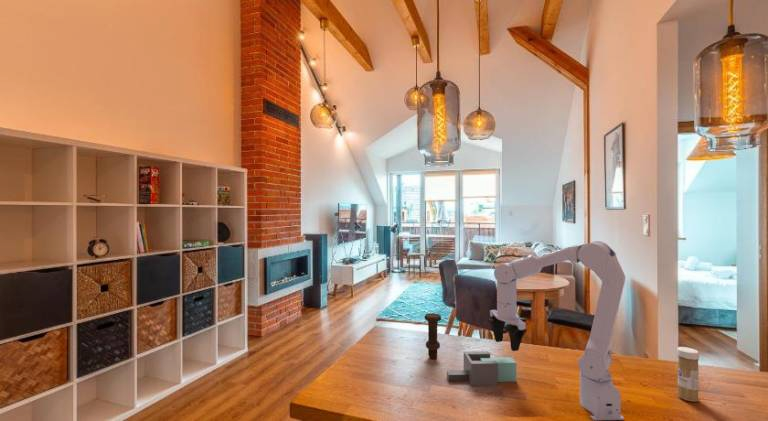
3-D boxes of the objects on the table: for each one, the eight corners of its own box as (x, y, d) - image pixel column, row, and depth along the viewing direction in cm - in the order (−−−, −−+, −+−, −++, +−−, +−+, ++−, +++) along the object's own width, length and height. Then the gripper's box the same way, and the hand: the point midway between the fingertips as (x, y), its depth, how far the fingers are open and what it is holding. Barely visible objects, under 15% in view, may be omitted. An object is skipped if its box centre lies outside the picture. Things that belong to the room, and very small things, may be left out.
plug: (516, 381, 107) (516, 362, 107) (483, 382, 107) (483, 363, 107) (511, 375, 111) (511, 357, 111) (479, 376, 111) (479, 357, 111)
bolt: (441, 355, 126) (441, 313, 126) (441, 361, 121) (440, 317, 121) (425, 354, 127) (424, 312, 127) (424, 360, 122) (424, 316, 122)
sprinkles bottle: (673, 394, 99) (672, 346, 99) (687, 393, 100) (687, 345, 100) (688, 403, 95) (688, 353, 95) (703, 402, 95) (703, 352, 95)
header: (498, 385, 104) (498, 363, 104) (451, 386, 104) (451, 364, 104) (488, 371, 113) (488, 351, 113) (445, 372, 113) (445, 351, 113)
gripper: (534, 306, 104) (534, 352, 104) (502, 295, 117) (502, 336, 117) (514, 309, 101) (514, 356, 101) (484, 297, 115) (484, 338, 115)
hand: (506, 345), depth 109 cm, fingers open, 7 cm apart
